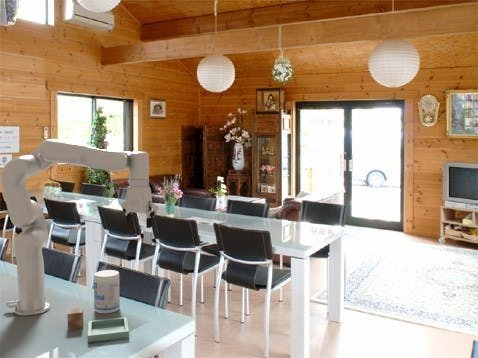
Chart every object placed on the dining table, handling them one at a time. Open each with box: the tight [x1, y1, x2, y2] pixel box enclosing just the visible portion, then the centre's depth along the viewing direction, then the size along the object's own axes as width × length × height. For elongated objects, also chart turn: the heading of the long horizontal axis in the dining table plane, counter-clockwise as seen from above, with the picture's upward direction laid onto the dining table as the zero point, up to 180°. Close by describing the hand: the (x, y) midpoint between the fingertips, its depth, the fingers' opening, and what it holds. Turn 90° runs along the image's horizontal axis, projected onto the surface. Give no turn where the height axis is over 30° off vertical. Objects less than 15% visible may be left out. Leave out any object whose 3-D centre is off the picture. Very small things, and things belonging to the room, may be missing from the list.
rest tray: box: [87, 316, 130, 344], centre depth 162 cm, size 13×13×3 cm
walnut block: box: [66, 307, 84, 331], centre depth 168 cm, size 5×5×6 cm
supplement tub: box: [93, 269, 121, 314], centre depth 184 cm, size 10×10×15 cm
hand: (139, 226), depth 187 cm, fingers open, 9 cm apart
